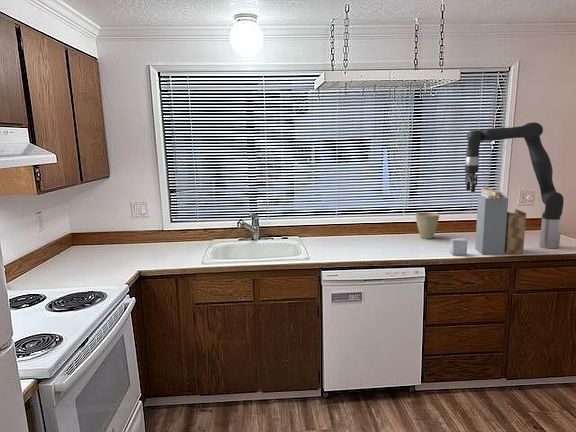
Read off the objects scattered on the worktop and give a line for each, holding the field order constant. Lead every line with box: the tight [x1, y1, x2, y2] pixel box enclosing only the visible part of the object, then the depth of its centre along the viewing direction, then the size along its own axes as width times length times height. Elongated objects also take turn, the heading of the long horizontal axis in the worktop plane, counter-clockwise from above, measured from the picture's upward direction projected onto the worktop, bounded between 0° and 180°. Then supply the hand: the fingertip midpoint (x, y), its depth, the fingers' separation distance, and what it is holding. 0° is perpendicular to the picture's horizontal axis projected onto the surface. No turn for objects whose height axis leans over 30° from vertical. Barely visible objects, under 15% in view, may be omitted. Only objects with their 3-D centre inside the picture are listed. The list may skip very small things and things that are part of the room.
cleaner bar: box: [480, 187, 504, 199], centre depth 244 cm, size 4×26×4 cm, turn 174°
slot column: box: [474, 192, 509, 256], centre depth 246 cm, size 12×12×34 cm
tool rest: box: [504, 208, 527, 255], centre depth 247 cm, size 9×12×24 cm
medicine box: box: [449, 238, 468, 256], centre depth 245 cm, size 8×4×9 cm, turn 90°
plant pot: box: [415, 211, 440, 240], centre depth 285 cm, size 15×15×16 cm
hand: (470, 191), depth 262 cm, fingers open, 8 cm apart
